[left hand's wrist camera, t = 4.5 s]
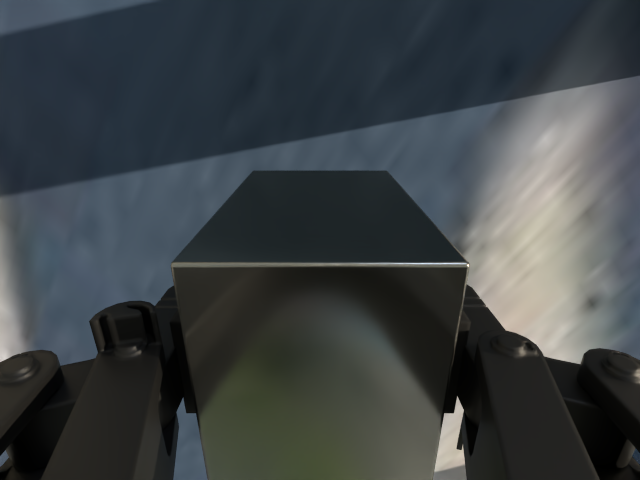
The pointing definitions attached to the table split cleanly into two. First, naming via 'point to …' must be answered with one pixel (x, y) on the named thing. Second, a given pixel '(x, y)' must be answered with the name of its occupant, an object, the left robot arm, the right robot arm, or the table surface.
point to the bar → (320, 329)
